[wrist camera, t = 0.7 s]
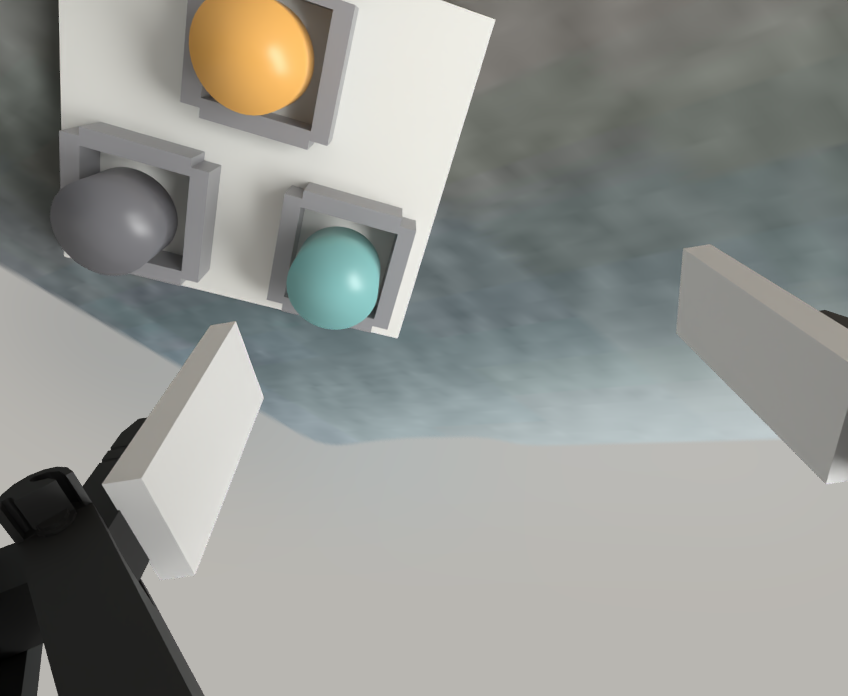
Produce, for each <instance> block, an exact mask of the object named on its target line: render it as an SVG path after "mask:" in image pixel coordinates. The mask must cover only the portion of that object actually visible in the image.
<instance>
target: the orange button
mask: <svg viewBox="0 0 848 696" xmlns="http://www.w3.org/2000/svg"><path fill="white" fill-rule="evenodd" d="M189 52H190V57H191V62H192V65H193V68H194V70H195V73H196V75H197V77H198V79H199V80H200V82H201V84H202V85H203V87H204V88H205V89H206V91H207V92H208V93H209V94H210V95H211V96H212V97H213V98H214V99H215V100H216V101H218V102H219V103H220V104H222V105H223V106H225V107H226V108H228V109H230V110H232V111H235V112H237V113H240V114H245V115H253V116H255V115H264V114H269V113H271V112H274V111H276V110H279V109H281V108H284V107H286V106H288V105H290V104H292V103H294V102H295V101H296V100H298V99H299V98H300V97H301V96H302V95H303V93H304V92H305V91H306V89H307V88H308V86H309V84H310V81H311V79H312V75H313V71H314V50H313V45H312V41H311V39H310V36H309V33H308V31H307V29H306V27H305V26H304V24H303V23H302V21H301V20H300V19H299V17H298V16H297V15H296V14H295V13H294V12H293V11H292V10H291V9H290V8H288V7H287V6H286V5H284V4H282V3H281V2H279V1H277V0H205V1H204V2H203V3H202V4H201V6H200V7H199V8H198V10H197V12H196V13H195V15H194V18H193V20H192V23H191V27H190V32H189Z"/></svg>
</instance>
